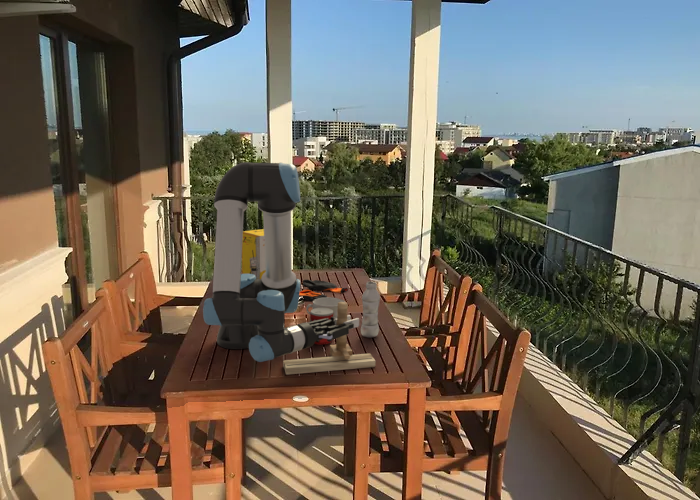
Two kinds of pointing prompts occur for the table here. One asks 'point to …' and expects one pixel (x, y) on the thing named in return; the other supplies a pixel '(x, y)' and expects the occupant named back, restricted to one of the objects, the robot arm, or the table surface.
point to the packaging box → (253, 253)
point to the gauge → (341, 345)
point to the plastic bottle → (370, 311)
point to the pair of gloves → (318, 286)
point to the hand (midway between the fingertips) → (353, 320)
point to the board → (328, 363)
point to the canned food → (321, 314)
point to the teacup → (326, 304)
